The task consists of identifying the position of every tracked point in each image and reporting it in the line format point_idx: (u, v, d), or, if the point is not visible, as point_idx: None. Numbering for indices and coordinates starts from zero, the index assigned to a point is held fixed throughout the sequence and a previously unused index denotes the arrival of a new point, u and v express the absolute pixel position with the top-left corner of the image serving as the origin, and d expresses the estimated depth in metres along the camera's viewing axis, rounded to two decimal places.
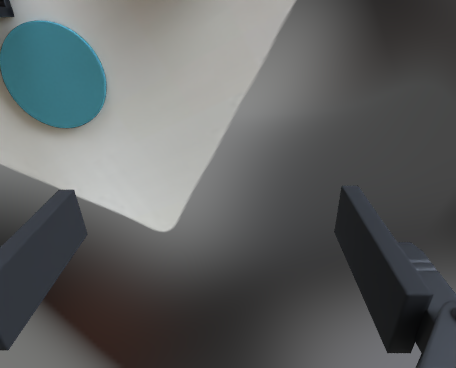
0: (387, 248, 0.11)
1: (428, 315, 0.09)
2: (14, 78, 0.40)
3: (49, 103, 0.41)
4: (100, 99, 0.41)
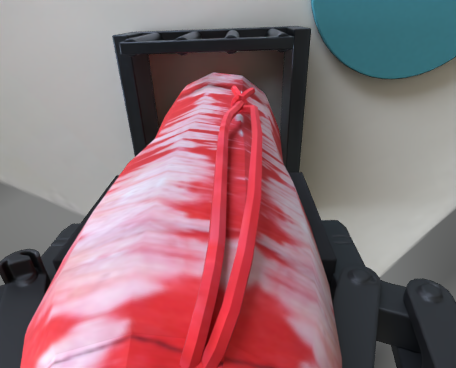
0: (310, 223, 0.12)
1: (334, 278, 0.11)
2: (396, 57, 0.22)
3: None
4: None
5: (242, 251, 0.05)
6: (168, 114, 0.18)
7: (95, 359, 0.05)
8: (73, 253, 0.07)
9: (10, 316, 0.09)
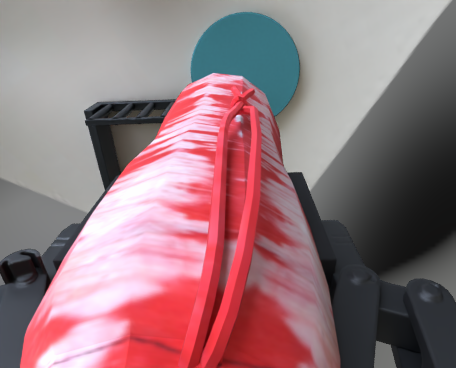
0: (309, 223, 0.12)
1: (334, 277, 0.11)
2: None
3: (271, 84, 0.38)
4: (268, 21, 0.35)
5: (241, 253, 0.05)
6: (168, 115, 0.18)
7: (95, 361, 0.05)
8: (73, 254, 0.07)
9: (10, 316, 0.09)
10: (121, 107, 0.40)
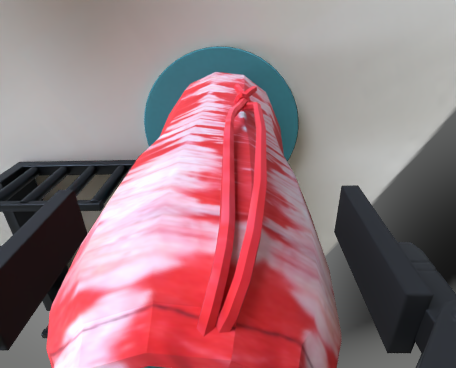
0: (387, 248, 0.11)
1: (428, 315, 0.09)
2: None
3: None
4: (253, 60, 0.24)
5: (251, 230, 0.06)
6: (172, 112, 0.19)
7: (121, 326, 0.06)
8: (94, 236, 0.07)
9: None
10: (50, 171, 0.28)
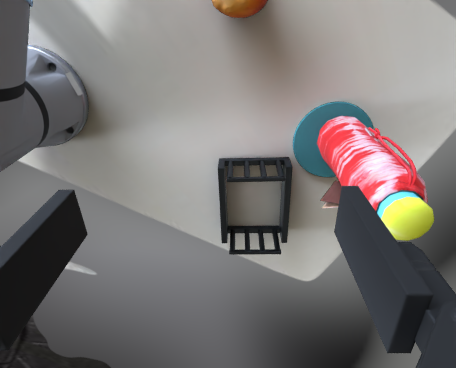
0: (387, 248, 0.11)
1: (428, 315, 0.09)
2: (328, 169, 0.54)
3: None
4: (355, 108, 0.49)
5: (414, 168, 0.31)
6: (332, 136, 0.44)
7: (393, 185, 0.31)
8: (372, 172, 0.32)
9: None
10: (239, 163, 0.54)
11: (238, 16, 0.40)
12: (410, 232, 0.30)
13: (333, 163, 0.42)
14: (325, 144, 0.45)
